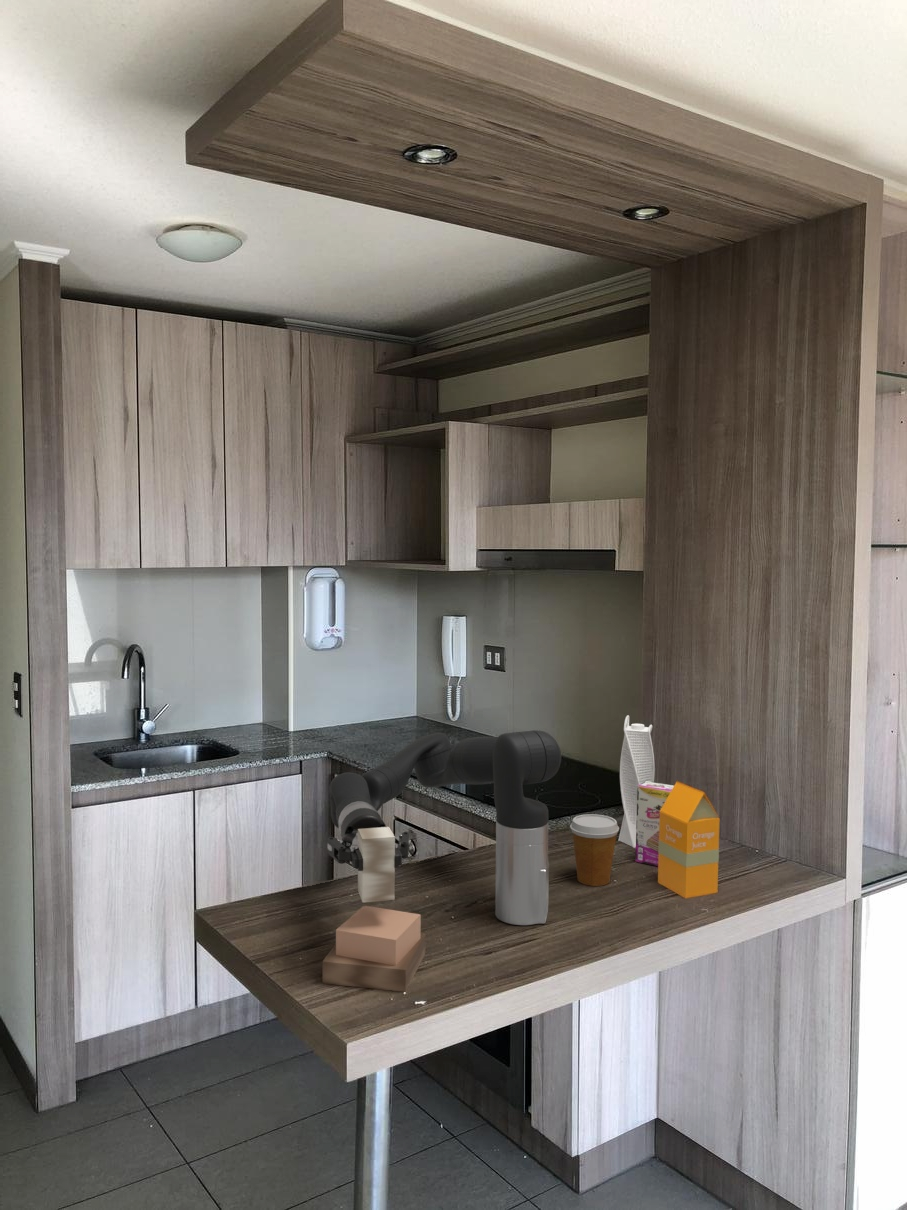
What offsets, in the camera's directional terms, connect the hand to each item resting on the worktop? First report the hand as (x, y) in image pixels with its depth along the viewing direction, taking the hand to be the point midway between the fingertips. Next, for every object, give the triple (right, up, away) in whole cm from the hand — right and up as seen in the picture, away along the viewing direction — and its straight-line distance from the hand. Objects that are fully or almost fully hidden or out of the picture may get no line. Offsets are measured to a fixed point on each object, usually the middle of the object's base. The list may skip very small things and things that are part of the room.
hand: (378, 863), depth 146 cm
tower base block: (-1, -18, +3) cm, 18 cm away
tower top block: (0, -14, +3) cm, 14 cm away
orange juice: (+57, -15, +38) cm, 70 cm away
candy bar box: (+55, -14, +50) cm, 76 cm away
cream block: (-1, -6, +3) cm, 7 cm away
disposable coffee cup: (+39, -15, +41) cm, 59 cm away
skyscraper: (+52, -13, +64) cm, 83 cm away
